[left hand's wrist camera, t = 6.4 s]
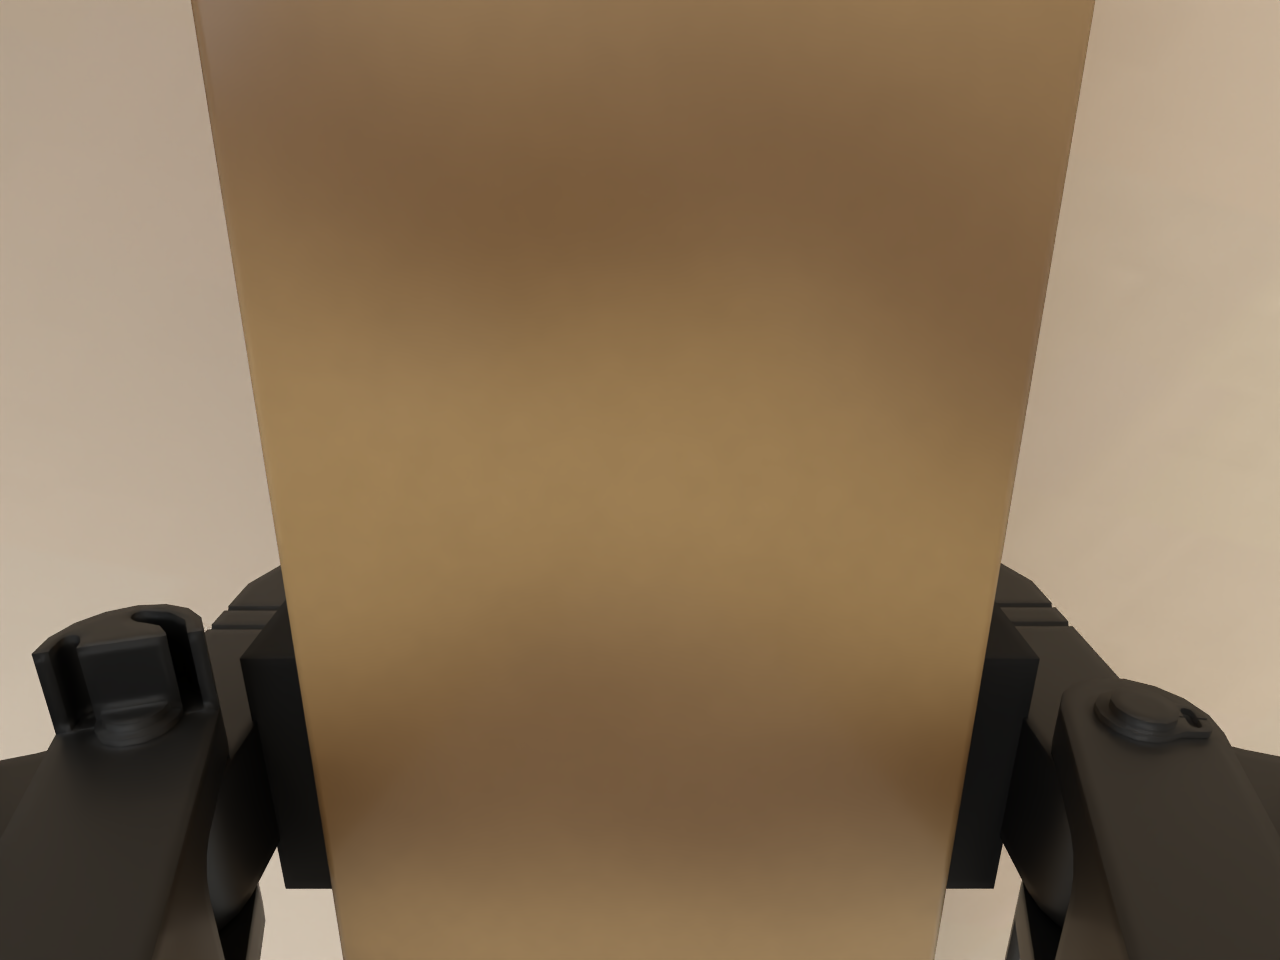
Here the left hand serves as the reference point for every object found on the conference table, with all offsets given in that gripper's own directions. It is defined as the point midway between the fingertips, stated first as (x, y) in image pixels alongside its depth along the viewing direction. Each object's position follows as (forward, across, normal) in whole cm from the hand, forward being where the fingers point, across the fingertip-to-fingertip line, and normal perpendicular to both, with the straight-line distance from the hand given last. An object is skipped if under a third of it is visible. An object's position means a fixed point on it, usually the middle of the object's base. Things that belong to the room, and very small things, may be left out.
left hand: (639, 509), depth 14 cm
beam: (+1, 0, -32) cm, 32 cm away
